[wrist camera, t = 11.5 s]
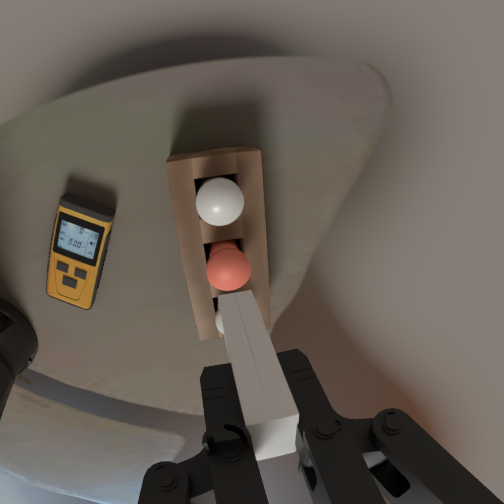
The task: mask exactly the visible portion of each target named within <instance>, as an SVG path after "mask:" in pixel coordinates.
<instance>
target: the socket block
mask: <svg viewBox="0 0 504 504" xmlns="http://www.w3.org/2000/svg"><path fill="white" fill-rule="evenodd" d="M166 169H167V176H168V183H169V189H170V195H171V201H172V207H173V213H174V219H175V225H176V230H177V235H178V241H179V246H180V251H181V256H182V261H183V266H184V271H185V276H186V280H187V285H188V290H189V294H190V299H191V303H192V307H193V312H194V316H195V320H196V324H197V329H198V333H199V337H200V341H201V340H208V339H214V338H220V337H224V334H223V333H221V332H220V331H219V330H218V328H217V326H216V321H215V314H216V312H217V310H218V305H217V300H213V298H215V297H218V295H224V294H230V293H236V292H242V291H248V290H252V293H253V295H254V298H255V301H256V303H257V306H258V308H259V311H260V314H261V316H262V319H263V322H264V324H265V327H266V329H270V328H271V313H270V293H269V274H268V256H267V239H266V222H265V206H264V191H263V176H262V161H261V150H259V149H257V148H255V147H253V146H251V145H244V146H234V147H225V148H217V149H209V150H202V151H194V152H188V153H181V154H175V155H169V157H168V159H167V161H166ZM226 174H231V179H232V181H233V182H234V183H235V184H236V185H237V186H238V187H239V188H240V190H241V192H242V194H243V197H244V207H243V210H242V212H241V214H240V215H239V217H238V218H237V219H236V220H235V221H233V222H232V223H229V224H227V225H223V226H216V225H211V224H209V223H207V222H205V221H204V220H203V219H202V218H201V217H200V215H199V214H198V211H197V208H196V195H197V193H196V186H195V179H197V178H204V177H211V176H218V175H226ZM230 239H238V249H239V250H240V251H242V252H243V253H244V254H245V255H246V256H247V258H248V260H249V263H250V266H251V274H250V277H249V279H248V281H247V282H246V283H245V284H244V285H243V286H242V287H240V288H238V289H235V290H231V291H223V290H220V289H217V288H215V287H214V286H213V285H212V284H211V283H210V282H209V280H208V278H207V272H206V265H207V261H208V259H209V258H210V256H206V254H205V248H204V243H211V242H217V241H224V240H230Z"/></svg>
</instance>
